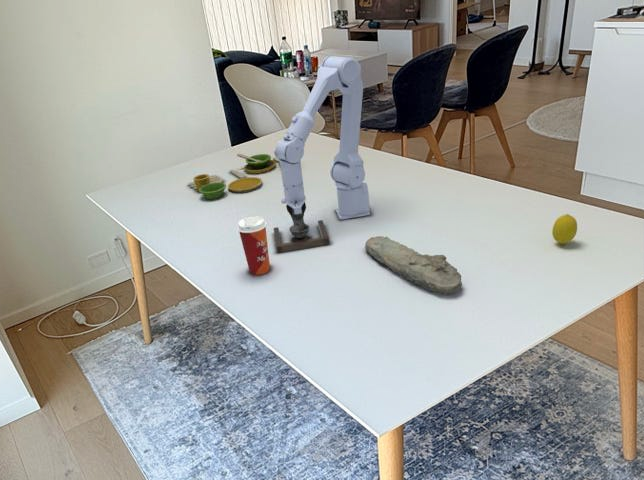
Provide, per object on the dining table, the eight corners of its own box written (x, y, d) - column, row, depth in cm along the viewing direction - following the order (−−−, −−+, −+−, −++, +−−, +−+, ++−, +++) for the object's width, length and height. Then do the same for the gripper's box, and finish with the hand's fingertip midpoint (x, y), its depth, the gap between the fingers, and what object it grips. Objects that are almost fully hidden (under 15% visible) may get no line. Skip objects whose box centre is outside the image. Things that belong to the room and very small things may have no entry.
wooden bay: (323, 226, 172) (322, 219, 171) (329, 244, 161) (328, 238, 160) (274, 233, 172) (273, 227, 171) (277, 253, 161) (276, 246, 160)
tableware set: (278, 158, 232) (276, 142, 228) (310, 174, 211) (308, 157, 207) (183, 185, 221) (179, 169, 217) (207, 205, 200) (203, 187, 196)
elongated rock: (386, 244, 159) (356, 258, 156) (384, 227, 156) (353, 240, 153) (475, 286, 132) (441, 302, 129) (474, 265, 129) (439, 282, 126)
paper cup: (270, 276, 151) (261, 227, 142) (242, 277, 152) (232, 228, 144) (276, 262, 157) (268, 214, 148) (250, 263, 158) (240, 216, 150)
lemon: (573, 239, 144) (579, 209, 140) (574, 249, 140) (580, 219, 136) (550, 239, 146) (554, 209, 142) (550, 248, 142) (555, 218, 137)
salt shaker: (290, 236, 169) (284, 198, 162) (309, 233, 169) (304, 194, 162) (291, 245, 164) (286, 205, 157) (311, 241, 164) (307, 202, 157)
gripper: (277, 177, 166) (283, 220, 175) (281, 194, 155) (287, 240, 163) (301, 173, 166) (306, 217, 174) (306, 190, 155) (311, 236, 163)
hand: (298, 227), depth 169 cm, fingers closed
